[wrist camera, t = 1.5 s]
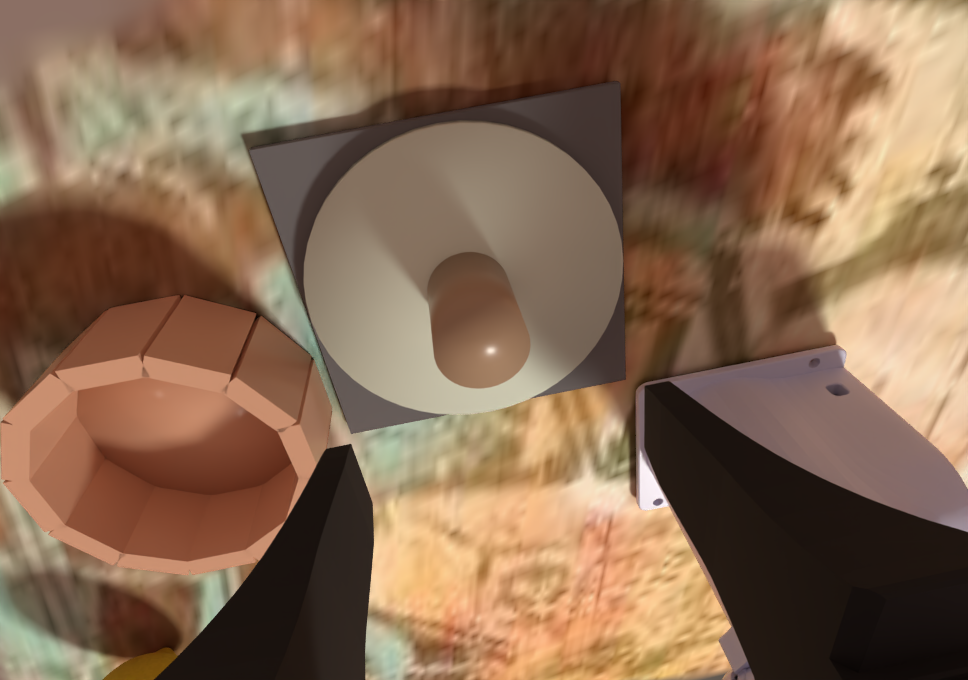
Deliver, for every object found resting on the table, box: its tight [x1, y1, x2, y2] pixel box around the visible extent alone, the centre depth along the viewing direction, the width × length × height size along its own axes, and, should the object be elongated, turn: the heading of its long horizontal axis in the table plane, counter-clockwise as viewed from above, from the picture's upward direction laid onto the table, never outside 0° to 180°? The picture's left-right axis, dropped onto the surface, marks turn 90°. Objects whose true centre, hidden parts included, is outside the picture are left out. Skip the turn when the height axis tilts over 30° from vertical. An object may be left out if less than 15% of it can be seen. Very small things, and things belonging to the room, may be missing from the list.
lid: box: [304, 120, 623, 415], centre depth 20 cm, size 12×12×5 cm
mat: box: [249, 81, 626, 434], centre depth 22 cm, size 12×12×1 cm
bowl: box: [1, 295, 332, 575], centre depth 22 cm, size 10×10×4 cm
